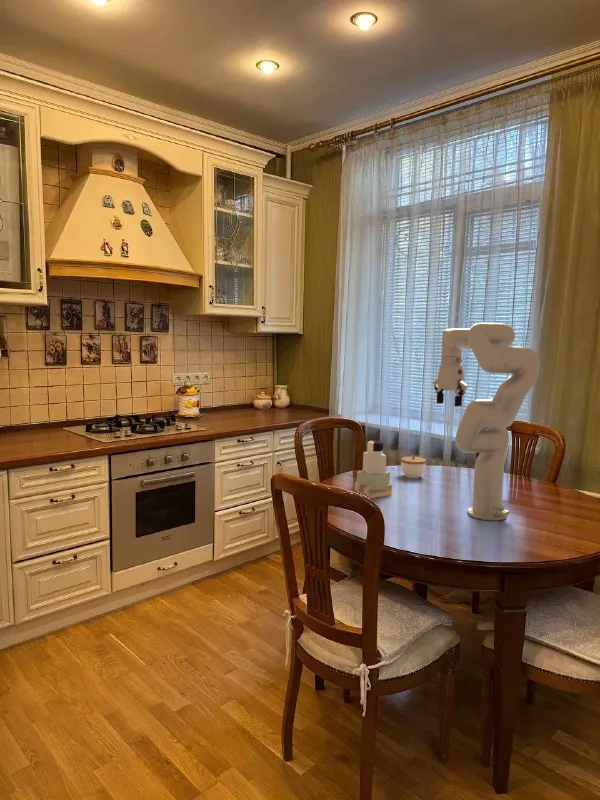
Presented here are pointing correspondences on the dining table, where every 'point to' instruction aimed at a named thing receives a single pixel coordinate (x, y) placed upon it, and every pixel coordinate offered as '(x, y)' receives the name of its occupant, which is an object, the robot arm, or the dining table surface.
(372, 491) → the tower bottom block
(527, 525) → the dining table surface
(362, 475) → the tower top block
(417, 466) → the lidded jar
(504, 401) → the robot arm
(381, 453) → the medicine bottle
